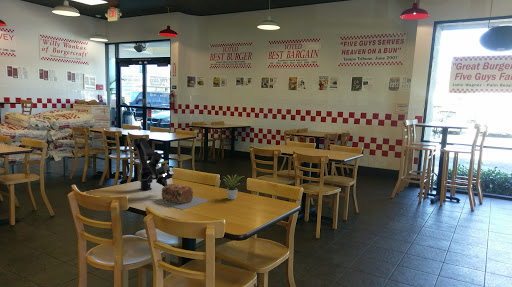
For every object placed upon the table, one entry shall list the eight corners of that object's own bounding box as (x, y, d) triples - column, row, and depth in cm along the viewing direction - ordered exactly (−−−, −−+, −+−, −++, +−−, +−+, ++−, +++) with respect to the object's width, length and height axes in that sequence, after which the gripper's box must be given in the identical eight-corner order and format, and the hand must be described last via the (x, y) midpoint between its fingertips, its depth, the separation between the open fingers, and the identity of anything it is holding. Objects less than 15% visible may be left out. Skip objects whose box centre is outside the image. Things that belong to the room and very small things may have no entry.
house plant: (241, 194, 247) (242, 171, 245) (247, 200, 234) (247, 175, 232) (220, 195, 243) (221, 171, 241) (225, 201, 230) (226, 176, 228)
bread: (193, 201, 226) (193, 186, 225) (179, 205, 218) (179, 188, 217) (174, 195, 238) (174, 180, 236) (160, 198, 229) (160, 183, 228)
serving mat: (160, 204, 220) (160, 203, 220) (188, 196, 240) (188, 195, 240) (182, 210, 210) (182, 209, 210) (209, 201, 230) (209, 200, 230)
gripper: (149, 162, 226) (162, 182, 221) (172, 159, 241) (184, 177, 237) (141, 173, 231) (153, 193, 226) (163, 169, 247) (175, 187, 242)
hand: (167, 187), depth 233 cm, fingers closed
